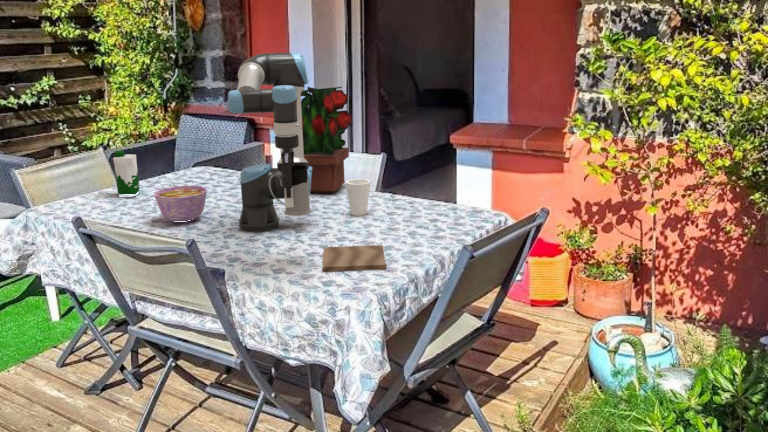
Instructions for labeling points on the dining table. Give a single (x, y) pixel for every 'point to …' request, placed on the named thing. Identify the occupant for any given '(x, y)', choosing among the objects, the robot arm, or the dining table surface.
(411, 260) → the dining table surface
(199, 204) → the bowl of food
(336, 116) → the potted plant
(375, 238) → the dining table surface
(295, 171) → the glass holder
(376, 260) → the walnut board
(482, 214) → the dining table surface
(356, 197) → the foam cup
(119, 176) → the mojito glass
